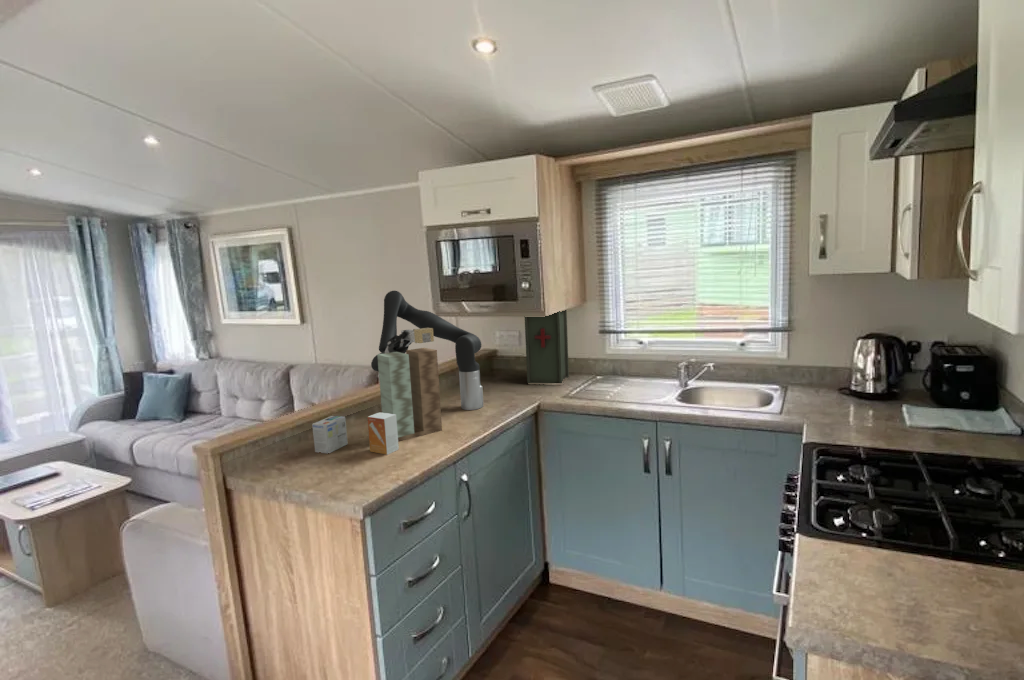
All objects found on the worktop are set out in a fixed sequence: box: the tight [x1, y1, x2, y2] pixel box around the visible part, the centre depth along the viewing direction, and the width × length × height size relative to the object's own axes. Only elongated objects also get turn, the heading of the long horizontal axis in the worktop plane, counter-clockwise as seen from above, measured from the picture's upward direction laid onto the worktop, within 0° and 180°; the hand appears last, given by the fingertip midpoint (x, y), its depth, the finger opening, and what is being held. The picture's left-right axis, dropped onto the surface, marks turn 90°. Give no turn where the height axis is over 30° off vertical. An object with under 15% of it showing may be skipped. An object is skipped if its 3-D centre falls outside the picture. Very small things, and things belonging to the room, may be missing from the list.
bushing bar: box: [400, 328, 435, 344], centre depth 211 cm, size 6×18×5 cm, turn 38°
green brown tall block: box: [376, 347, 443, 442], centre depth 207 cm, size 20×10×32 cm, turn 128°
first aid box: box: [524, 309, 570, 383], centre depth 287 cm, size 18×18×40 cm
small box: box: [367, 411, 400, 456], centre depth 190 cm, size 8×6×13 cm
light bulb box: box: [311, 415, 349, 454], centre depth 196 cm, size 11×7×11 cm, turn 159°
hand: (411, 331), depth 214 cm, fingers closed on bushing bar, 3 cm apart
